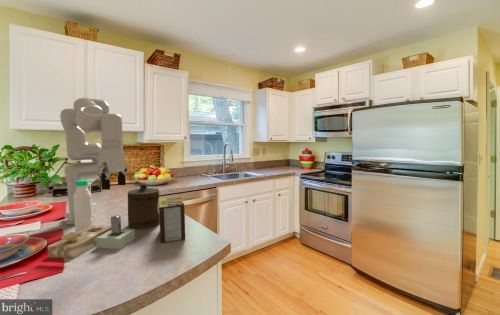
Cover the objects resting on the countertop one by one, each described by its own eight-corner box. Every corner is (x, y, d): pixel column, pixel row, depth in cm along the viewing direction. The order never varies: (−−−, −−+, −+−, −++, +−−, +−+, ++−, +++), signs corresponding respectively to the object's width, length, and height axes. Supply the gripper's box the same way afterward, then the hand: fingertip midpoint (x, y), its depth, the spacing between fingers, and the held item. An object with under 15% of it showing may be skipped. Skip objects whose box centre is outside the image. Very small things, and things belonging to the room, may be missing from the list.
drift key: (61, 250, 92) (61, 236, 92) (71, 245, 96) (70, 232, 96) (72, 251, 91) (71, 237, 91) (82, 246, 96) (81, 232, 95)
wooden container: (166, 224, 127) (165, 182, 125) (139, 233, 114) (137, 187, 113) (148, 219, 135) (147, 180, 133) (122, 227, 122) (120, 184, 121)
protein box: (182, 228, 121) (181, 197, 120) (185, 239, 107) (184, 204, 106) (159, 230, 118) (158, 198, 117) (160, 243, 103) (158, 207, 102)
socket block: (48, 259, 90) (47, 246, 89) (93, 236, 111) (92, 225, 111) (73, 260, 88) (72, 247, 88) (114, 237, 110) (113, 226, 110)
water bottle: (74, 237, 110) (70, 182, 109) (76, 232, 117) (73, 180, 115) (92, 234, 114) (89, 180, 112) (94, 229, 120) (91, 178, 118)
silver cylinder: (110, 244, 100) (108, 217, 99) (115, 241, 103) (114, 215, 103) (118, 244, 100) (116, 218, 99) (123, 241, 103) (122, 215, 102)
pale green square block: (97, 250, 97) (96, 237, 97) (113, 239, 107) (113, 228, 107) (120, 251, 96) (120, 238, 96) (135, 240, 106) (134, 229, 106)
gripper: (117, 144, 108) (119, 183, 109) (87, 145, 91) (89, 191, 92) (133, 144, 107) (135, 183, 108) (106, 145, 90) (108, 191, 91)
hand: (114, 187), depth 100 cm, fingers open, 9 cm apart
